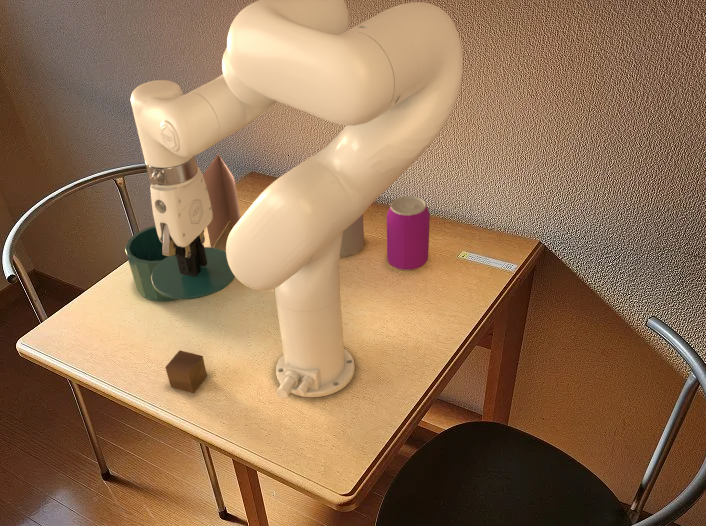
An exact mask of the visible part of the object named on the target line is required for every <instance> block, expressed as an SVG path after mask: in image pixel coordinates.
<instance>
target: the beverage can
mask: <svg viewBox="0 0 706 526" xmlns="http://www.w3.org/2000/svg"><path fill="white" fill-rule="evenodd" d="M430 217H431V213H430V211H429V208H428V206H427V203H426V201H425V199H423V198H421V197H419V196H416V195H415V196H414V195H404V196H400V197H397V198H395V199H394V200H392V201H391V203H390V206H389V209H388V211H387V213H386V259H387V262H388V264H389V265H390V266H392V268H394V269H396V270H399V271H403V272H411V271H415V270H418V269H420V268H421V267H423V266H424V265H426V264H427V262H428V260H429V249H430V248H429V244H430V222H431V220H430Z"/></svg>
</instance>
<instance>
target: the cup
mask: <svg viewBox="0 0 706 526" xmlns="http://www.w3.org/2000/svg"><path fill="white" fill-rule="evenodd" d="M364 231H365V230H364V213H363V214H362V215H361V216H360V217H359V218H358V219H357V220H356V221H355V222H354V223H353V224H351V225H350V226H349V227H348V228H347V229H345V230H344V231H343V236H342V243H341V250H340V257H348V256H353V255H356V254H358V253H359V252H360V251H362V249H363V247H364V245H365V232H364Z"/></svg>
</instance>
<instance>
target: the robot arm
mask: <svg viewBox="0 0 706 526" xmlns="http://www.w3.org/2000/svg"><path fill="white" fill-rule="evenodd" d="M349 15H350V14H349V9H348V6H347V3H346V1H345V0H256V1H254V2H252V3H250V4H248V5H246V6H245V7H244V8H242V10H240V11H239V12H238V13H237V14H236V16H235V17H234V19H233V20H232V22H231V24H230V26H229V30H228V32H227V37H226V47H225V50H224V52H223V54H222V60H221V70H222V74H221V75H219V76H217V77H215V78H214V79H213V80H211V81H209V82H207V83H205V84H203V85H201V86H199V87H197V88H195V89H193V90H191V91H189V92H187V93H185V94H184V92H183V90H182V88H181V86H180V85H179V84H178V83H176V82H174V81H172V80H168V79H157V80H151V81H147V82H144V83H141V84H140V85H138V86H137V87H135V89H133V90H132V92H131V96H130V104H131V109H132V113H133V117H134V121H135V126H136V130H137V135H138V138H139V142H140V146H141V151H142V155H143V157H144V158H143V159H144V163H145V167H146V172H147V176H148V181H149V183H150V186H149V188H150V189H149V190H150V202H151V208H152V216H153V220H154V226H156V230H157V234H158V237H159V239H160V241H161V243H163V250H162V254H163V255H165V256H176V258H177V262H178V266H179V271H180V273H181V274H183V275H188V276H193V277H196V276H197V275H198V272H197V267H196V263H195V258H194V255H191V251H190V245H189V244H190V243H191V242H192V241H193V240H195V242H196V247H197V251H198V256H199V261H200V266H206V265H207V259H206V254H205V249H204V247H205V245H204V244H205V241H206V238H205V237H206V236H205V230H206V229H207V226H208V225H209V224H210V223H211V221H212V219H213V212H212V207H211V202H210V198H209V194H208V190H207V187H206V183H205V180H204V177H203V173H202V170H201V168H200V166H199V165H198V164H197V159H196V156H197V155H199V154H201V153H202V152H204V151H207V150H209V148H211V147H213V146H215V145H216V144H217V143H219V142H221V141H223V140H224V139H226V138H228V137H230V136H231V135H233V134H236V133H237V132H239V131H240V130H242V129H243V128H245V127H246V126H247V125H249V124H250V123H252V122H253V121H254V120H256V119H257V118H258V117H260V116H261V115H262V114H264V113H266V111H268V110H269V109H270V108H271V107H273V106H274V105H275V104H276V103H277V102H278V103H280V104H283V105H286V106H288V107H291V108H294V109H295V110H296V109H297V110H299V111H301V112H303V113H306V114H309V115H311V116H314V117H316V118H319V119H321V120H325V121H326V122H330V123H333V124H336V125H340V126H344V127H343V129H342V130H341V131H340V132H339V133H338V135H336V136H335V138H333V139H332V140H331V142H329V144H327V145H326V146H325V147H324V148H323V149H321V150H320V151H318V152H316V153H314V154H313V155H311V156H310V157H308V158H306V159H305V160H303V161H302V162H300V163H299V164H297V165H296V166H294V167H292V168H291V169H289V170H288V171H287V172H285V173H283V174H282V175H281V176H280V177H278V178H276V179H275V180H274V181H273V182H272V183H270V184H269V185H268V186H267V187H266V188H265V189H263V191H261V193H260V194H259V195H258V196H257V197H256V198H255V200H254V201H253V203H251V205H250V206H249V207H248V209H247V210H246V211H245V212H244V213H243V214H242V216H241V218H240V220H239V221H238V222H237V223H236V224H235V226H234V227H233V226H232V229H230V232H229V234H228V236H227V240H226V244H225V251H226V256H227V261H228V264H229V267H230V269H231V271H232V273H233V274H234V276H235V278H236V279H237V280H238V282H240V283H241V284H243V286H246V287H248V288H250V289H253V290H257V291H269V290H270V291H271V290H273V289H274V296H275V303H276V310H277V317H278V325H279V332H280V341H281V346H282V353H283V354H282V355H281V356H280V357H279V359H278V360H277V363H276V366H275V374H276V378H277V382H278V384H279V386H278V388H277V389H276V391H275V394H276V395H277V396H278V398H280V399H283V400H285V399H287V398H288V397H289V396H290V394H294V395H296V396H299V397H303V398H321V397H326V396H329V395H332V394H336V393H337V392H339V391H342V389H344V388H345V387H347V386H348V384H349V383H350V382H351V381H352V379H353V378H354V375H355V371H356V369H355V360H354V357H353V355H352V354H351V353H350V351H348V349H346V348H345V347H344V332H343V317H342V315H343V314H342V300H341V280H340V279H341V278H340V261H341V260H340V258H341V256H340V250H341V243H342V236H343V231H344V230H345V229H347V228H348V227H349V226H350V225H351V224H353V223H354V222H355V221H356V220H357V219H358V218H359V217H360V216H361V215H362V214H363V215H364V213H365V212H366V211H367V210H368V209H369V208H370V207H371V205H372V204H373V203H374V202H375V201H376V200H377V199H379V197H380V196H381V195H382V194H383V193H384V192H386V190H388V189H389V188H390V187H391V186H392V185H393V184H394V183H395V182H396V181H397V180H398V179H399V178H400V177H401V176H402V175H403V174H404V173H405V172H406V171H407V170H408V169H409V168H410V167H411V166H412V165H413V164H414V163H415V162H416V161H417V160H418V159H419V158H420V157H421V156H422V155H423V154H424V153H425V152H426V150H427V149H428V148H429V147H430V146H431V145H432V143H433V142H434V141H435V140H436V138H437V137H438V136H439V134H440V133H441V132H442V130H443V129H444V128H445V126H446V124H447V122H448V121H449V119H450V117H451V115H452V113H453V111H454V108H455V106H456V104H457V101H458V98H459V95H460V91H461V86H462V81H463V72H464V58H463V55H464V54H463V48H462V43H461V38H460V34H459V32H458V29H457V26H456V25H455V23H454V21H453V19H452V17H450V15H449V14H448V12H446V11H445V10H444V9H443V8H441V7H439V6H437V5H435V4H433V3H430V2H423V1H412V2H407V3H401V4H398V5H395V6H392V7H390V8H388V9H385V10H383V11H381V12H379V13H377V14H376V15H374V16H372V17H370V18H368V19H366V20H364V21H362V22H360V23H359V24H357V25H355V26H354V27H351V28H350V29H349V26H350V25H349V24H350V16H349ZM179 246H181V247H183V249H182V248H180V247H179Z"/></svg>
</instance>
